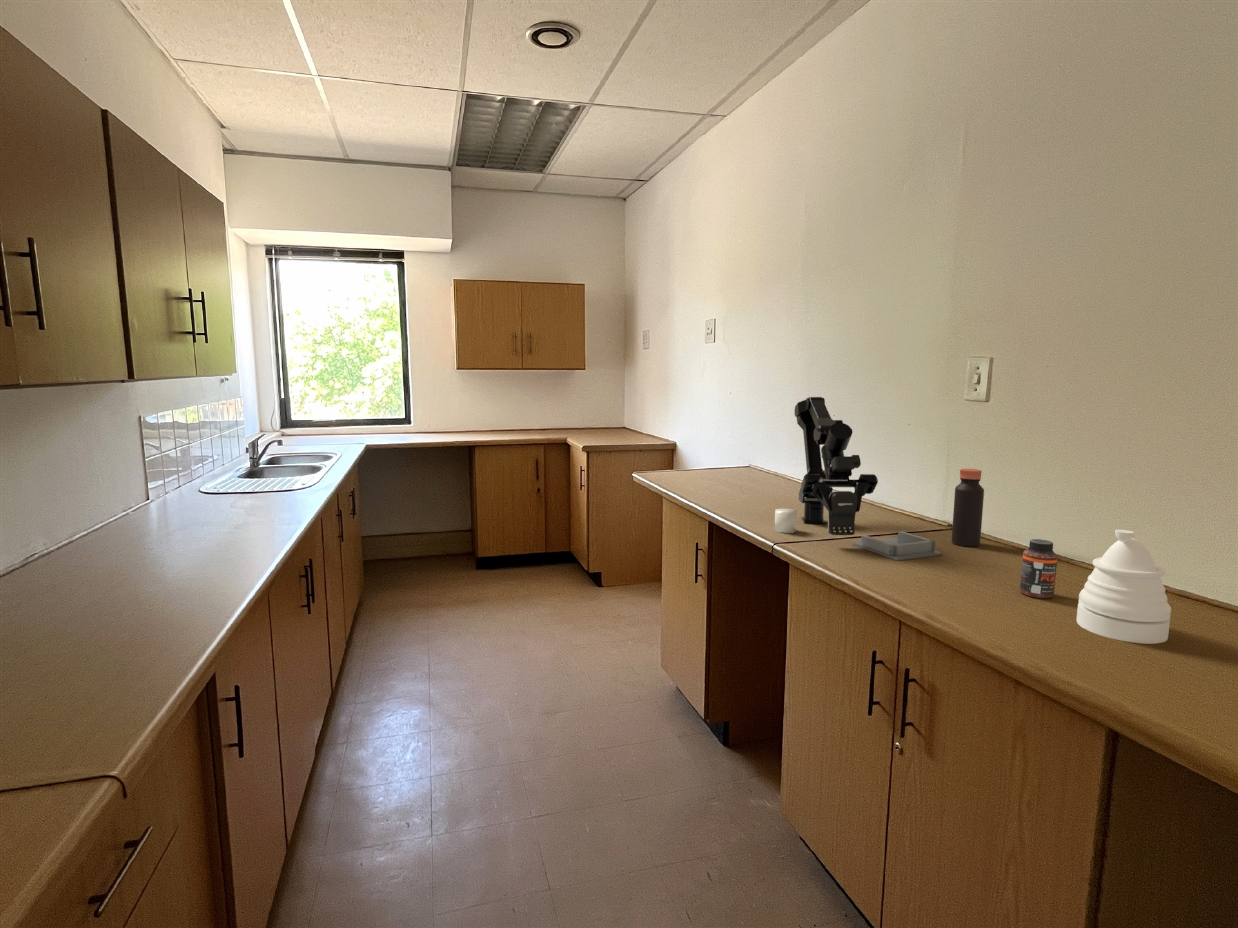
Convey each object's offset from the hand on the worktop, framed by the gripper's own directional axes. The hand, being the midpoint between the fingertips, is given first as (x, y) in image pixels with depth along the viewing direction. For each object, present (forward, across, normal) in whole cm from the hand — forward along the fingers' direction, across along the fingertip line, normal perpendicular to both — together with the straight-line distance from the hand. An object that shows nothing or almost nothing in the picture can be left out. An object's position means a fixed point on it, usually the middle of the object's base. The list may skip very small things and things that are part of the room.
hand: (844, 510), depth 164 cm
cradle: (+7, +13, +7) cm, 17 cm away
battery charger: (+4, 0, +6) cm, 7 cm away
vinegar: (+3, +34, +12) cm, 36 cm away
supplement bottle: (+31, +30, -17) cm, 46 cm away
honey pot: (+43, +34, -29) cm, 62 cm away
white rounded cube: (-6, -11, +21) cm, 24 cm away
